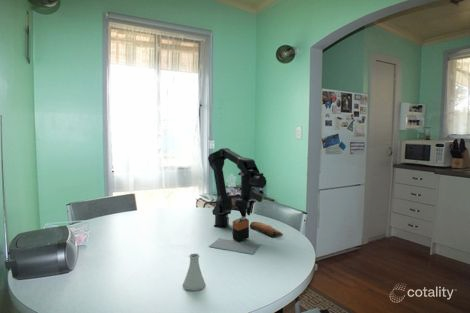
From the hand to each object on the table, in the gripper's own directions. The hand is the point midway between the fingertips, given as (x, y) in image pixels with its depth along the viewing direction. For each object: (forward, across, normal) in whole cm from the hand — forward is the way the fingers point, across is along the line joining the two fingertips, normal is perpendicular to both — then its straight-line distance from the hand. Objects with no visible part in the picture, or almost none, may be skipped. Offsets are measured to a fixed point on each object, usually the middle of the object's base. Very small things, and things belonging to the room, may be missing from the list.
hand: (246, 217), depth 140 cm
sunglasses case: (+10, +10, -8) cm, 16 cm away
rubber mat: (+9, -15, 0) cm, 18 cm away
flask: (+9, -52, +1) cm, 52 cm away
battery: (+9, -7, 0) cm, 11 cm away
